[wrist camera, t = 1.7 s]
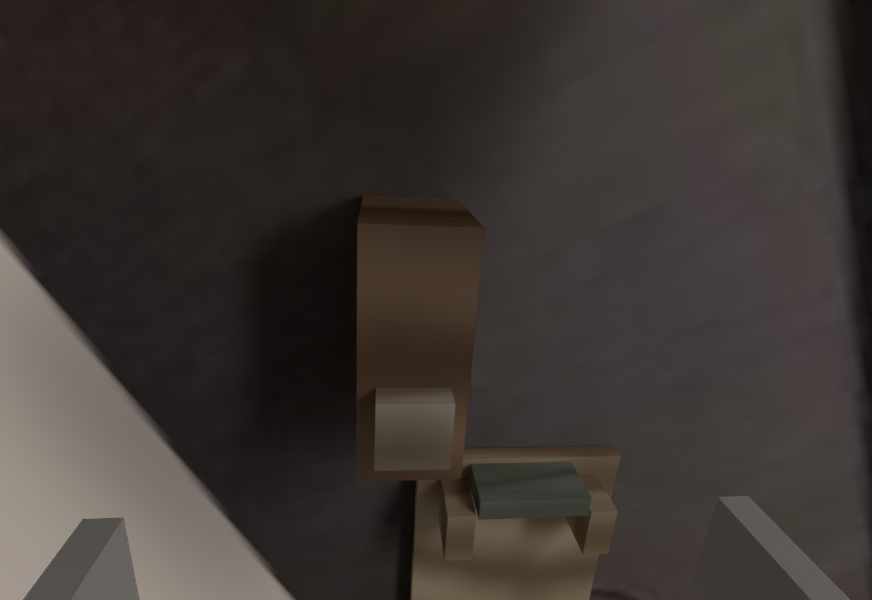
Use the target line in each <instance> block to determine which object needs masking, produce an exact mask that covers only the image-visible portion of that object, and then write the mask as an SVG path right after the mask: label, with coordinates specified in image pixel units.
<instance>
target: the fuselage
mask: <svg viewBox="0 0 872 600" xmlns="http://www.w3.org/2000/svg"><path fill="white" fill-rule="evenodd" d="M483 238H484V227H483V226H482V225H481V224H480V223H479V222H478V221H477V220H476V219H475V218H474V217H473V215H472V214H471V213H470V212H469V211H468V210H467V209H466V208H465V207H464V206H463V205H462V204H461V203H460V202H459V201H458V200H457V199H448V198H425V197H402V196H379V195H363V199H362V203H361V208H360V213H359V218H358V222H357V395H356V482H367V481H406V480H445V479H461V477H462V466H463V455H464V444H465V433H466V422H467V412H468V401H469V390H470V379H471V368H472V357H473V347H474V336H475V325H476V314H477V303H478V292H479V281H480V271H481V260H482V249H483Z"/></svg>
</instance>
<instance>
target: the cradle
mask: <svg viewBox="0 0 872 600" xmlns="http://www.w3.org/2000/svg"><path fill="white" fill-rule="evenodd" d="M620 457H621V456H620V455H619V453H618V452H617V450H616V449H615V448H614V446H576V447H521V448H465V449H464V455H463V466H462V477H461V479H445V480H416V491H415V510H414V528H413V547H412V566H411V585H410V600H589V598H590V593H591V589H592V584H593V580H594V575H595V571H596V566H597V561H598V557H599V554H608V552H609V548H610V544H611V539H612V535H613V530H614V526H615V522H616V517H617V513H618V511H617V509H616V507H615V506H614V504H613V502H612V501H611V498H612V493H613V488H614V484H615V479H616V475H617V470H618V466H619V461H620Z"/></svg>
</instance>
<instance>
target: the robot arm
mask: <svg viewBox="0 0 872 600" xmlns="http://www.w3.org/2000/svg"><path fill="white" fill-rule="evenodd" d="M692 586H693V588H694V589H695V590H696V592H697V593H698V595H699V596H700V598H701V599H702V600H850V599H849V598H848V597H847V596H846V595H845V594H844V593H843V592H842V591H841V590H840V589H839V588H838V587H837V586H836V585H835V584H834V583H833V582H832V581H831V580H830V579H829V578H828V577H827V576H826V575H825V574H824V573H823V572H822V571H821V570H820V569H819V568H818V567H817V566H816V565H815V564H814V563H813V562H812V561H811V560H810V559H809V557H808V556H807V555H806V554H805V553H804V552H803V551H802V550H801V549H800V548H799V547H798V546H797V545H796V544H795V543H794V542H793V541H792V540H791V539H790V538H789V537H788V536H787V535H786V534H785V533H784V532H783V531H782V530H781V529H780V528H779V527H778V526H777V525H776V524H775V523H774V522H773V521H772V520H771V519H770V518H769V517H768V516H767V515H766V514H765V513H764V512H763V511H762V510H761V509H760V508H759V507H758V506H757V505H756V504H755V503H754V502H753V501H752V500H751V499H750V498H749V497H748V496H735V497H718V499H717V503H716V506H715V509H714V513H713V516H712V519H711V522H710V526H709V529H708V532H707V536H706V539H705V542H704V546H703V549H702V552H701V555H700V559H699V562H698V565H697V569H696V572H695V575H694V578H693V582H692ZM23 600H139V595H138V590H137V585H136V580H135V574H134V569H133V564H132V559H131V554H130V549H129V543H128V538H127V533H126V528H125V523H124V518H105V519H104V518H103V519H83V520H82V521H81V523H80V524H79V525H78V527H77V528H76V529H75V531H74V532H73V533H72V535H71V536H70V537H69V539H68V540H67V541H66V543H65V544H64V545H63V547H62V548H61V550H60V551H59V552H58V553H57V555H56V556H55V558H54V559H53V560H52V561H51V563H50V564H49V566H48V567H47V569H46V570H45V571H44V572H43V574H42V575H41V576H40V578H39V579H38V581H37V582H36V583H35V584H34V586H33V587H32V588H31V590H30V591H29V592H28V594H27V595H26V596H25V598H24V599H23Z"/></svg>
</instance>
